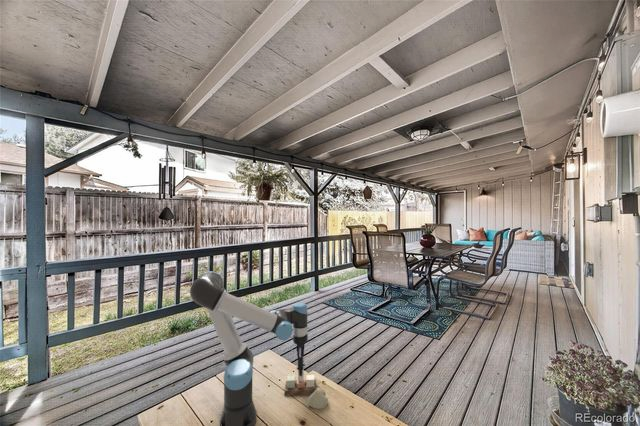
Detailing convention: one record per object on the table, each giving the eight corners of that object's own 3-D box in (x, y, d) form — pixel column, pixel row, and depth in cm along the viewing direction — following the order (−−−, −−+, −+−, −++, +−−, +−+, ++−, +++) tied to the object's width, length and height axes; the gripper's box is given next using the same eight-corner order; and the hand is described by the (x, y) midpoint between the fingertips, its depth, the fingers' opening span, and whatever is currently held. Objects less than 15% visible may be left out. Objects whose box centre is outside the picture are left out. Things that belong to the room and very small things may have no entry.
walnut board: (284, 395, 121) (284, 390, 121) (286, 384, 129) (286, 380, 129) (316, 393, 121) (316, 389, 121) (316, 383, 129) (316, 379, 129)
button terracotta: (296, 391, 123) (296, 383, 123) (297, 385, 127) (297, 378, 127) (304, 390, 123) (304, 383, 123) (304, 385, 127) (304, 378, 127)
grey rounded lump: (332, 401, 113) (319, 399, 109) (321, 414, 114) (308, 412, 110) (326, 384, 120) (314, 381, 116) (316, 397, 121) (304, 394, 117)
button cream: (306, 387, 123) (306, 379, 123) (306, 382, 127) (306, 375, 127) (314, 386, 123) (314, 379, 123) (314, 381, 127) (314, 374, 127)
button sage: (286, 387, 123) (286, 380, 123) (287, 382, 127) (287, 375, 127) (294, 387, 123) (294, 380, 123) (295, 382, 127) (295, 375, 127)
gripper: (307, 339, 120) (307, 388, 119) (307, 328, 133) (308, 372, 132) (292, 340, 119) (292, 389, 118) (294, 328, 132) (294, 373, 131)
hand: (300, 380), depth 125 cm, fingers closed
